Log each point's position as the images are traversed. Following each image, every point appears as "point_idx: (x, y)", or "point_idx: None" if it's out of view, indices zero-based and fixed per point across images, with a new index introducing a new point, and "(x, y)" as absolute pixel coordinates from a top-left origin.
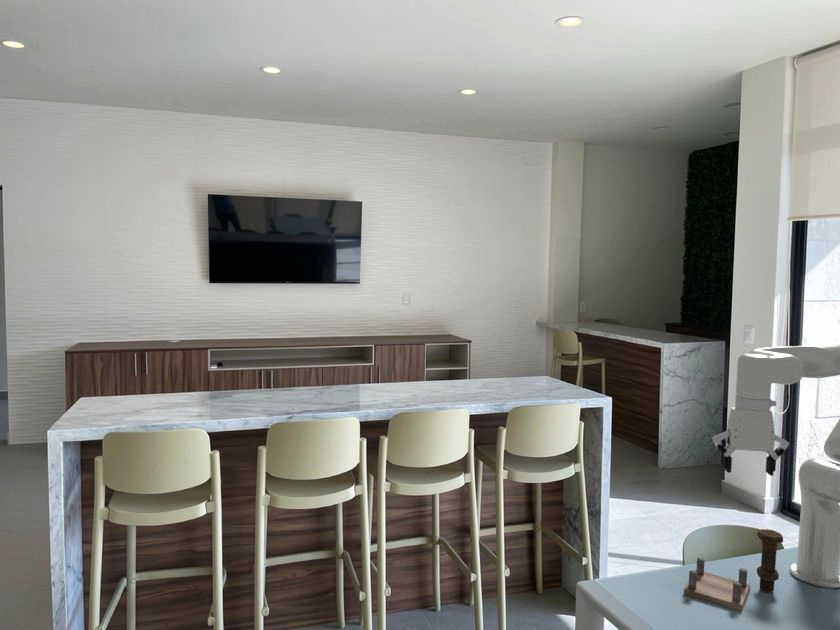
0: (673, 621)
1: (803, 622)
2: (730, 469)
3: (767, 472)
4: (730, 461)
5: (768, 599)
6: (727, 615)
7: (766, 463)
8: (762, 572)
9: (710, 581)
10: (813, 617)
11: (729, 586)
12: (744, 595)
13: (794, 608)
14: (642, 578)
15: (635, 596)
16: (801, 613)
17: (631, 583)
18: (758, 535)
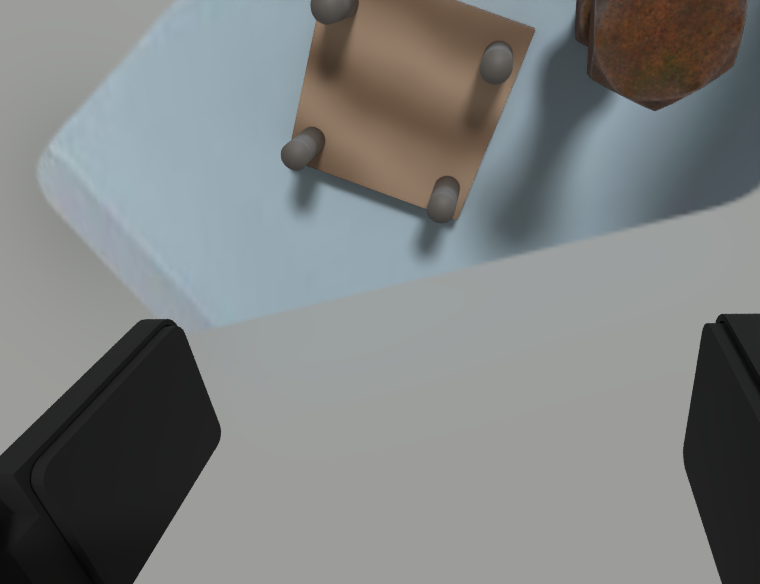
0: (272, 309)
1: (644, 224)
2: (198, 465)
3: (695, 390)
4: (138, 557)
5: (585, 88)
6: (411, 245)
7: (752, 429)
8: (585, 45)
9: (378, 63)
10: (702, 181)
11: (444, 84)
12: (483, 144)
13: (661, 132)
14: (162, 74)
15: (168, 208)
16: (670, 164)
17: (140, 127)
18: (591, 17)
